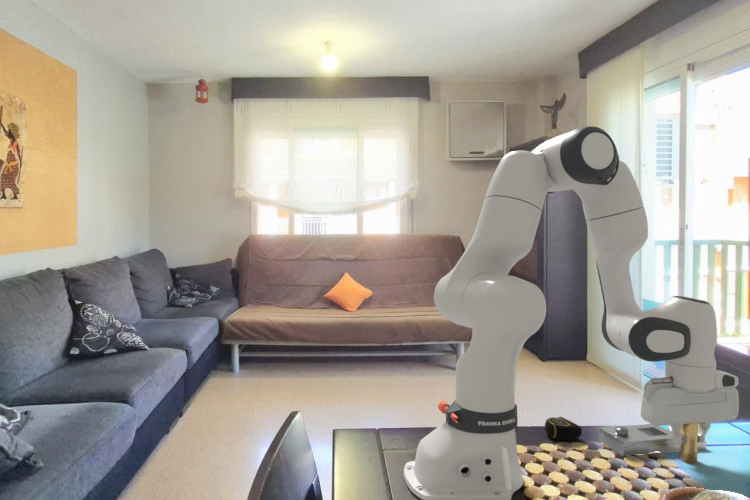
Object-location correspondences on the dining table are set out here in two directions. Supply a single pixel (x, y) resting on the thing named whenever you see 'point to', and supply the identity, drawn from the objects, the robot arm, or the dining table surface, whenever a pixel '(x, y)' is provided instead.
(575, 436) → the tape measure
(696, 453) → the pin
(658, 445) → the gray slab
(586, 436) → the dining table surface
